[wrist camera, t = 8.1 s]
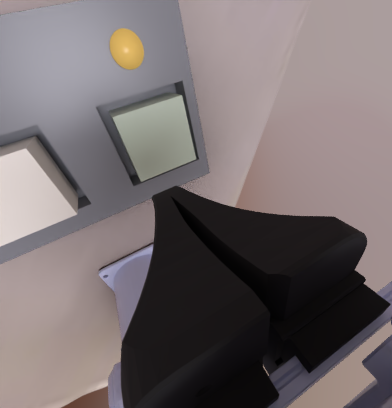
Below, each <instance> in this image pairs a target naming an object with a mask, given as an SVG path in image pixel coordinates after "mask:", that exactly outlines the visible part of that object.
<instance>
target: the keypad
mask: <svg viewBox="0 0 392 408" xmlns="http://www.w3.org/2000/svg"><path fill="white" fill-rule="evenodd" d="M167 92H170V93H175V94H179V95H182V97H183V102H184V106H185V111H186V115H187V120H188V125H189V129H190V134H191V138H192V143H193V147H194V152H195V156H196V159H195V160H193V161H191V162H188V163H186V164H183V165H181V166H178V167H176V168H174V169H171V170H169V171H166V172H164V173H161V174H159V175H157V176H154V177H152V178H149V179H147V180H144V181H142V182H141V181H140V179H139V177H138V175H137V173H136V171H135V169H134V167H133V165H132V163H131V161H130V158H129V156H128V154H127V152H126V149H125V147H124V145H123V143H122V140H121V138H120V136H119V134H118V132H117V129H116V127H115V125H114V123H113V120H112V118H111V116H110V114H109V112H108V111H109V110H113V109H116V108H119V107H122V106H126V105H129V104H132V103H135V102H138V101H142V100H145V99H148V98H151V97H154V96H158V95H161V94H164V93H167ZM33 136H37V138H38V139H39V141H40V142H41V143H42V145H43V146H44V148H45V149H46V150H47V152H48V153H49V155H50V156H51V157H52V159H53V160H54V162H55V163H56V164H57V166H58V167H59V169H60V170H61V171H62V173H63V174H64V176H65V177H66V178H67V180H68V181H69V183H70V184H71V185H72V187H73V188H74V190H75V191H76V192H77V194H78V212H77V215H75V216H72V217H70V218H67V219H65V220H63V221H60V222H58V223H56V224H53V225H51V226H48V227H46V228H44V229H41V230H39V231H36V232H34V233H32V234H29V235H27V236H24V237H22V238H20V239H17V240H15V241H13V242H10V243H8V244H5V245H3V246H1V247H0V264H2V263H4V262H7V261H9V260H11V259H14V258H16V257H18V256H20V255H23V254H25V253H27V252H30V251H32V250H34V249H36V248H39V247H41V246H43V245H46V244H48V243H50V242H52V241H55V240H57V239H59V238H62V237H64V236H66V235H68V234H71V233H73V232H75V231H78V230H80V229H82V228H84V227H87V226H89V225H91V224H94V223H96V222H98V221H100V220H103V219H105V218H107V217H110V216H112V215H114V214H116V213H119V212H121V211H123V210H126V209H128V208H130V207H132V206H135V205H137V204H139V203H142V202H144V201H146V200H148V199H151V198H152V196H153V195H155V194H157V193H160V192H162V191H164V190H167V189H169V188H171V187H174V186H181V185H183V184H185V183H187V182H190V181H192V180H194V179H197V178H199V177H201V176H203V175H206V174H208V173H210V172H209V167H208V161H207V156H206V150H205V145H204V139H203V134H202V128H201V123H200V117H199V112H198V106H197V101H196V96H195V90H194V85H193V79H192V74H191V68H190V63H189V57H188V52H187V46H186V41H185V35H184V30H183V25H182V19H181V14H180V8H179V3H178V0H81V1H76V2H70V3H64V4H59V5H53V6H47V7H42V8H36V9H30V10H25V11H19V12H13V13H8V14H2V15H0V147H2V146H5V145H8V144H11V143H14V142H17V141H21V140H24V139H27V138H30V137H33Z"/></svg>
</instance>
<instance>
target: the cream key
mask: <svg viewBox="0 0 392 408" xmlns="http://www.w3.org/2000/svg"><path fill="white" fill-rule="evenodd" d="M77 212H78V194H77V192H76V191H75V190H74V188H73V187H72V185H71V184H70V183H69V181H68V180H67V178H66V177H65V176H64V174H63V173H62V171H61V170H60V169H59V167H58V166H57V164H56V163H55V162H54V160H53V159H52V157H51V156H50V155H49V153H48V152H47V150H46V149H45V148H44V146H43V145H42V143H41V142H40V141H39V139H38V138H37V136H33V137H30V138H27V139H24V140H21V141H17V142H14V143H11V144H8V145H5V146H2V147H0V247H1V246H3V245H5V244H8V243H10V242H13V241H15V240H17V239H20V238H22V237H24V236H27V235H29V234H32V233H34V232H36V231H39V230H41V229H44V228H46V227H48V226H51V225H53V224H56V223H58V222H60V221H63V220H65V219H67V218H70V217H72V216H75V215H77Z"/></svg>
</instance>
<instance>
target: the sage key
mask: <svg viewBox="0 0 392 408" xmlns="http://www.w3.org/2000/svg"><path fill="white" fill-rule="evenodd" d="M108 112H109V114H110V116H111V118H112V120H113V123H114V125H115V127H116V129H117V132H118V134H119V136H120V138H121V140H122V143H123V145H124V147H125V149H126V152H127V154H128V156H129V158H130V161H131V163H132V165H133V167H134V169H135V171H136V173H137V175H138V177H139V179H140V181H141V182H142V181H144V180H147V179H149V178H152V177H154V176H157V175H159V174H161V173H164V172H166V171H169V170H171V169H174V168H176V167H178V166H181V165H183V164H186V163H188V162H191V161H193V160H195V159H196V156H195V152H194V147H193V143H192V138H191V134H190V129H189V125H188V120H187V115H186V111H185V106H184V102H183V97H182V95H179V94H175V93H170V92H167V93H164V94H161V95H158V96H154V97H151V98H148V99H145V100H142V101H138V102H135V103H132V104H129V105H126V106H122V107H119V108H116V109H113V110H109V111H108Z"/></svg>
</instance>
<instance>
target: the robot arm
mask: <svg viewBox="0 0 392 408" xmlns="http://www.w3.org/2000/svg"><path fill="white" fill-rule="evenodd" d="M152 200H153V203H154V208H155V236H154V244H152V245H150V246H148V247H145V248H143V249H141V250H139V251H137V252H135V253H133V254H131V255H129V256H127V257H125V258H123V259H121V260H119V261H117V262H115V263H113V264H111V265H109V266H107V267H105V268H103V269H101V270H100V271H99V276H100V277H101V278H102V279H103V281H104V282H105V283H106V284H107V285H108V286H109V287H110V288H111V289H112V290H113V291H114V292H115V297H116V304H117V311H118V318H119V325H120V332H121V339H122V348H121V362H119V363H117V364H115V365H114V367H113V370H112V372H111V373H110V375H109V378H108V396H109V408H287V407H288V406H289V405H290V404H291V403H293V402H294V401H295V400H296V399H297V398H298V397H300V396H301V395H302V394H303V393H304V392H306V391H307V390H308V389H309V388H310V387H312V386H313V385H314V384H315V383H316V382H318V381H319V380H320V379H321V378H322V377H324V376H325V375H326V374H327V373H328V372H329V371H331V370H332V369H333V368H334V367H335V366H337V365H338V364H339V363H340V362H341V361H343V360H344V359H345V358H346V357H347V356H348V355H350V354H351V353H352V352H353V351H354V350H356V349H357V348H358V347H359V346H360V345H362V344H363V343H364V342H365V341H366V340H367V339H369V338H370V337H371V336H372V335H373V334H375V332H377V331H378V330H379V329H381V328H382V327H383V326H384V325H385V324H386V323H388V322H389V321H390V320H391V319H392V281H391V282H390V283H389V284H387V285H386V286H385V287H383V288H382V289H381V290H380V291H378V292H377V293H375V292H374V291H373V290H371V289H370V288H369V287H367V286H366V285H365V284H363V283H364V282H365V280H366V279H365V277H364V276H362V275H361V274H359V273H358V272H357V271H355V268H356V266H357V264H358V262H359V260H360V258H361V257H362V255H363V253H364V251H365V248H366V245H367V238H366V236H365V234H364V233H362V232H360V231H359V230H357V229H355V228H353V227H352V226H350V225H348V224H346V223H344V222H343V221H341V220H339V219H337V218H335V217H325V216H290V215H277V214H268V213H261V212H254V211H249V210H244V209H239V208H235V207H231V206H227V205H223V204H220V203H217V202H214V201H211V200H208V199H206V198H203V197H201V196H198V195H196V194H194V193H192V192H189V191H187V190H185V189H183V188H181V187H179V186H174V187H171V188H169V189H167V190H164V191H162V192H160V193H157V194H155V195H153V196H152ZM391 324H392V320H391ZM362 363H363V365H364V367H365V368H366V369H367V370H368V371H369V372H370V373H371V374H372V375H373V376H374V377H375V378H376V379H375V380H374V381H373V382H372V383H371V384H369V385H368V386H367V387H366V388H365V389H364V390H363V391H362V392H360V393H359V394H358V395H357V396H356V397H355V398H353V399H352V400H351V401H350V402H349V403H348V404H347V405H346V406H344V407H343V408H392V335H391V336H390V337H388V338H387V339H386V340H385V341H384V342H383V343H382V344H381V345H380V346H378V347H377V348H376V349H375V350H374V351H373V352H372V353H371V354H370V355H368V356H367V358H365V359H364V360H363V361H362ZM263 365H264V367H265V369H266V370H267V372H268V373H269V376H268V375H267V373H266V371H265V370H264V368H263Z"/></svg>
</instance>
